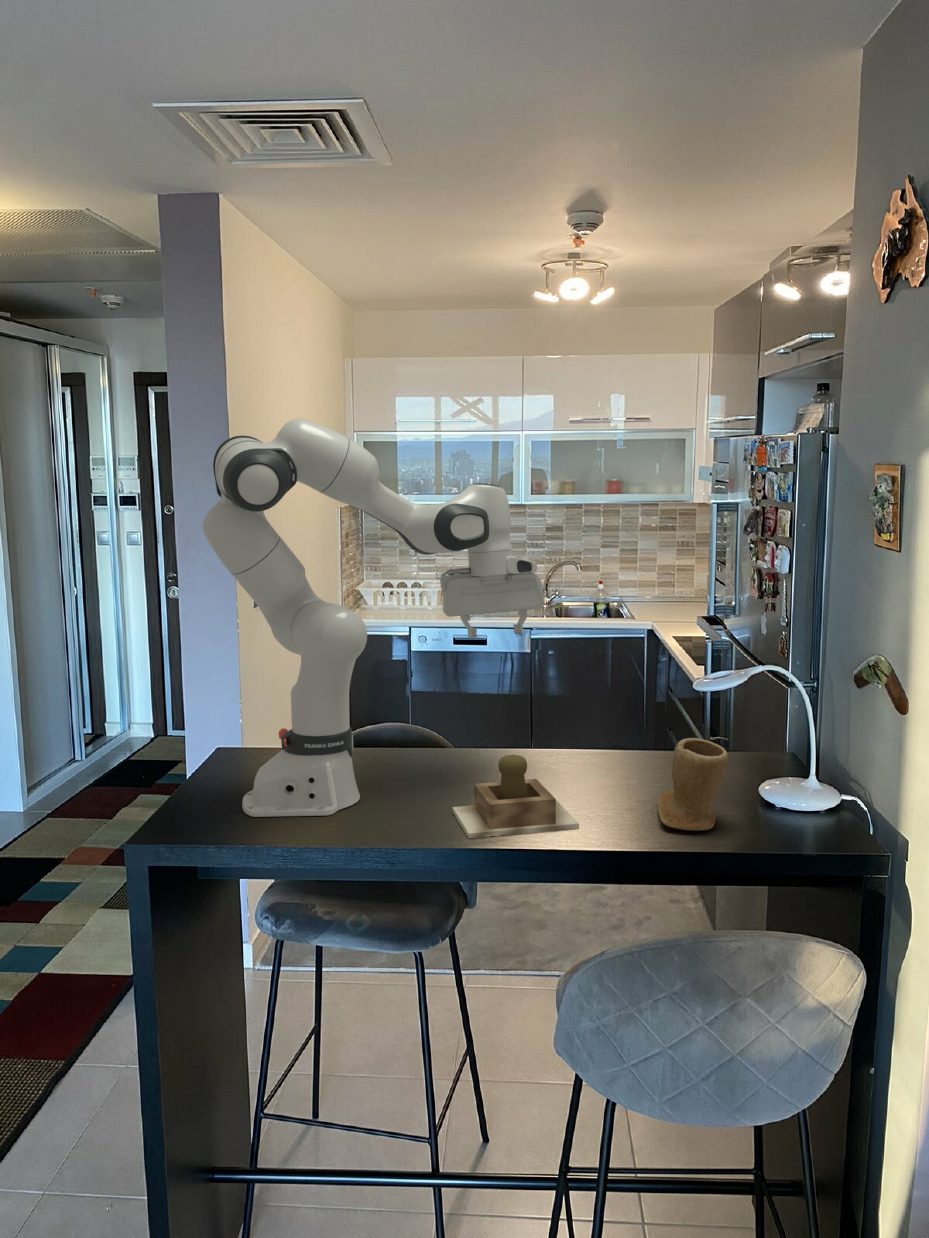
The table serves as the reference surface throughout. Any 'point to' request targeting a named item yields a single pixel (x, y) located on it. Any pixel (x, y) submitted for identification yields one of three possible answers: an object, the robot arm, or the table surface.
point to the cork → (512, 777)
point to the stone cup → (693, 785)
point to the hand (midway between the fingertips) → (495, 635)
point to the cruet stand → (512, 812)
